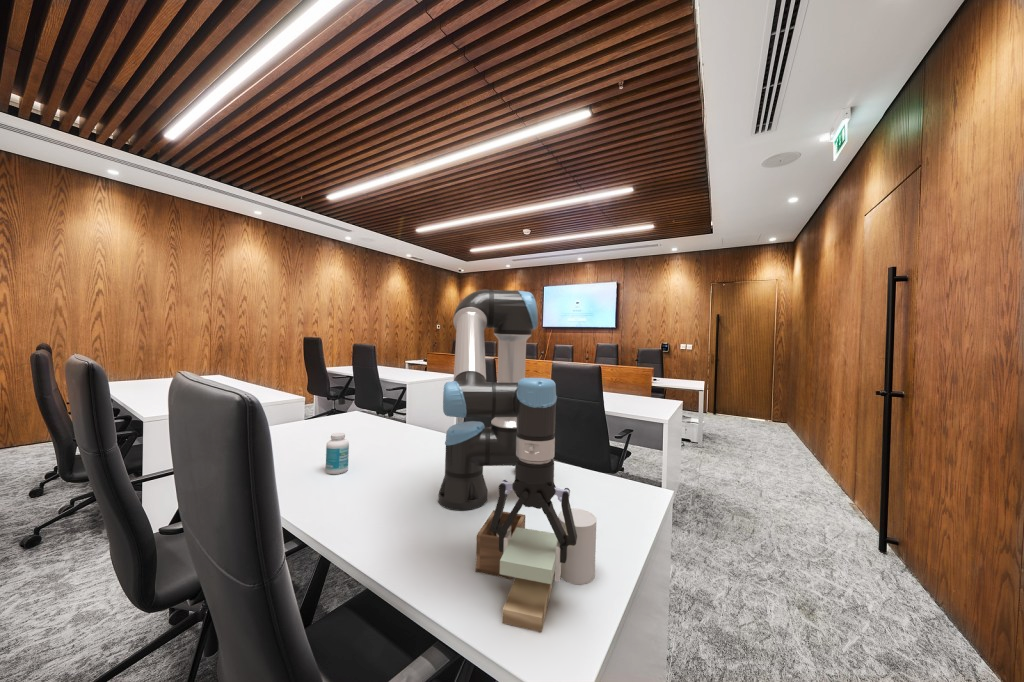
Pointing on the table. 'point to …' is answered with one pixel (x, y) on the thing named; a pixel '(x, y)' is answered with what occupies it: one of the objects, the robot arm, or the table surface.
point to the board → (527, 604)
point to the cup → (580, 549)
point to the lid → (530, 556)
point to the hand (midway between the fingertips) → (531, 572)
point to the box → (493, 545)
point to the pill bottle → (337, 454)
